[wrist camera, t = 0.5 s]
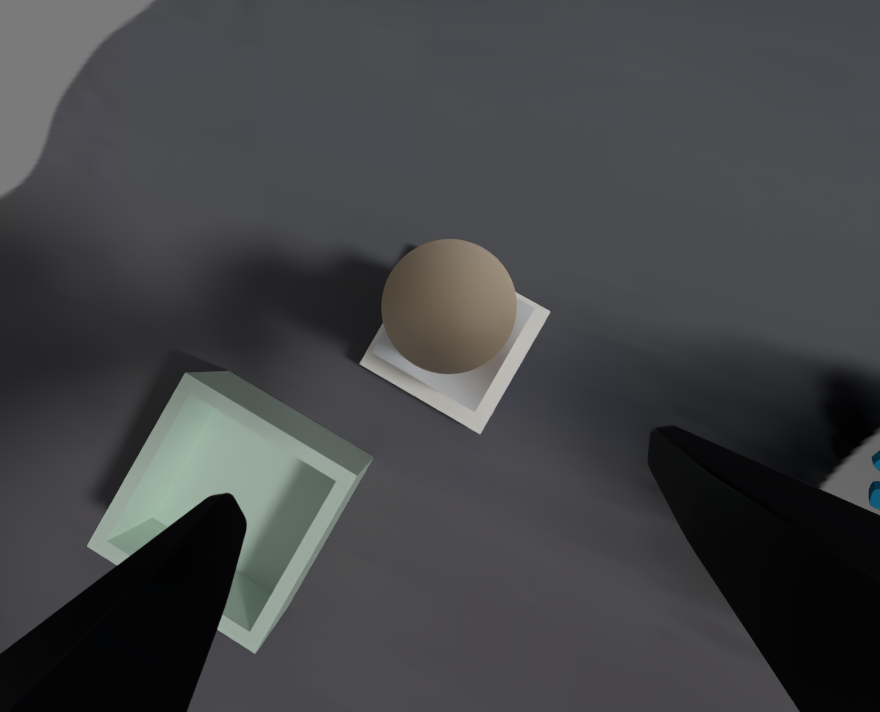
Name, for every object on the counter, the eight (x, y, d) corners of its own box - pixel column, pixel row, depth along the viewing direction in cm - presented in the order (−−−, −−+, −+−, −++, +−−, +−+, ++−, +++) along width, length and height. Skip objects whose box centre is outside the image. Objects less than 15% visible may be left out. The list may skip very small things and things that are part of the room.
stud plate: (478, 429, 23) (484, 450, 17) (365, 363, 23) (337, 364, 18) (544, 314, 23) (571, 299, 17) (430, 251, 23) (421, 217, 18)
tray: (288, 606, 23) (255, 653, 19) (146, 516, 24) (86, 546, 20) (373, 457, 23) (357, 475, 19) (229, 370, 24) (185, 372, 20)
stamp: (470, 400, 21) (487, 449, 9) (392, 354, 22) (309, 345, 10) (516, 320, 21) (591, 266, 9) (437, 276, 21) (410, 167, 9)
